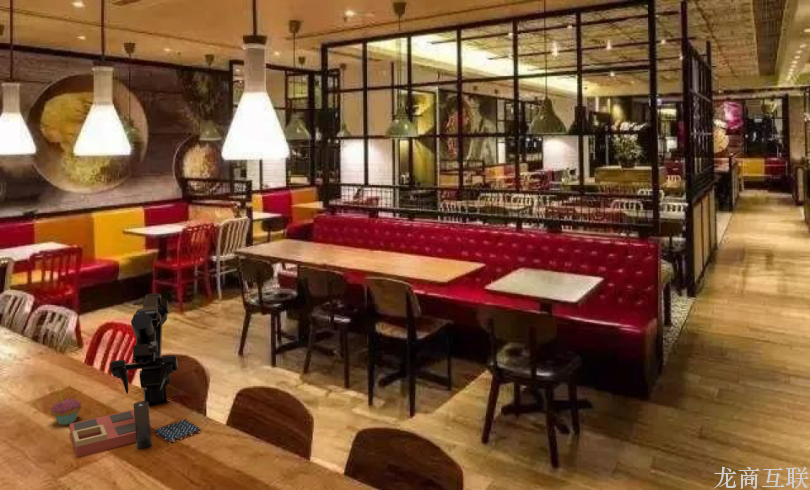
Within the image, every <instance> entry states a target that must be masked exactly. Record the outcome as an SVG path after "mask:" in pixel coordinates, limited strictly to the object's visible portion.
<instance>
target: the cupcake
mask: <svg viewBox="0 0 810 490" xmlns="http://www.w3.org/2000/svg"><path fill="white" fill-rule="evenodd" d="M61 390H62V389H60V388H58V395H59V399H60V401H59V400H58V401H57V402H55V403H54V404H53V405H52V406H51V408H50V415H51V416H54V417H55V419H56V420H57V422H58V424H59V425H61V426H65V425H66V426H67V425H70V424H72V423H76V420H77V417H78V414H79V411H81V409H82V404H81V402H80V401H79V400H76V399H74V398H65V399H63V395H62V391H61Z"/></svg>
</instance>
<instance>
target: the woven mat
mask: <svg viewBox="0 0 810 490" xmlns="http://www.w3.org/2000/svg"><path fill="white" fill-rule="evenodd" d="M153 433H154V435H155V436H156V437H158V438H160V439H162V441H163V442H166V443H168V444H169V445H171V444H172V443H175V442H179V441H181V440H184V439H186V438H190V437H193V436H196V435H197V434H200V433H201V428H200V426H197V425H196V424H195V423H192V422H190V420H187V419H184V420H183V419H182V420H179V421H178V422H174V423H170V424H168V425H164V426H161V427H160V428H156V429H155V430H154V432H153Z"/></svg>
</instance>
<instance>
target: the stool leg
mask: <svg viewBox="0 0 810 490" xmlns="http://www.w3.org/2000/svg"><path fill="white" fill-rule="evenodd" d="M132 406H133V411H134V419H135V431H136V442H135V443H136V444H135V445H136V449H138V450H147V449H149V448H150V447H152V431H151V421H150V420H151V419H150V407H149V403H148V401H144V400H140V401H136V402H134V403H133V405H132Z"/></svg>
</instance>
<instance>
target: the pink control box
mask: <svg viewBox="0 0 810 490" xmlns="http://www.w3.org/2000/svg"><path fill="white" fill-rule="evenodd" d="M69 430H70V431H69V432H70V436H71V439H72V440H71V441H72V443H73V448H74V452H75V455H76V457H77V458H78V457H82V456H86V455H90V454H95V453H98V452H103V451H106V450H110V449H114V448H119V447H122V446H126V445H130V444H134V443H136V431H135V419H134V409H132V410H126V411H122V412H118V413H113V414H108V415H104V416H100V417H95V418H89V419H86V420H82V421H77V422H76V421H75V422H73V423H71V424H69Z"/></svg>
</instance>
